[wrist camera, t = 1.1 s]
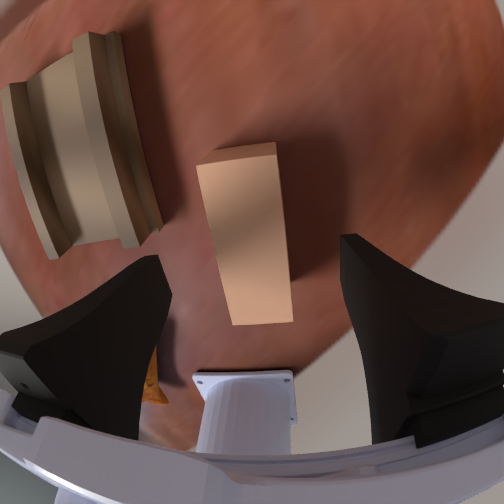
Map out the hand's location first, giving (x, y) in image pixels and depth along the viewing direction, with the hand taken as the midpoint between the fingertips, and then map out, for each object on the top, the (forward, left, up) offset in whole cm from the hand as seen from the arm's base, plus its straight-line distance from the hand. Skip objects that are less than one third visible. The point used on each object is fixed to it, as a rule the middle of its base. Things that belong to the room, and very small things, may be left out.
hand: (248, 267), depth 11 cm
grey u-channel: (+6, +9, -4) cm, 12 cm away
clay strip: (0, 0, -5) cm, 5 cm away
